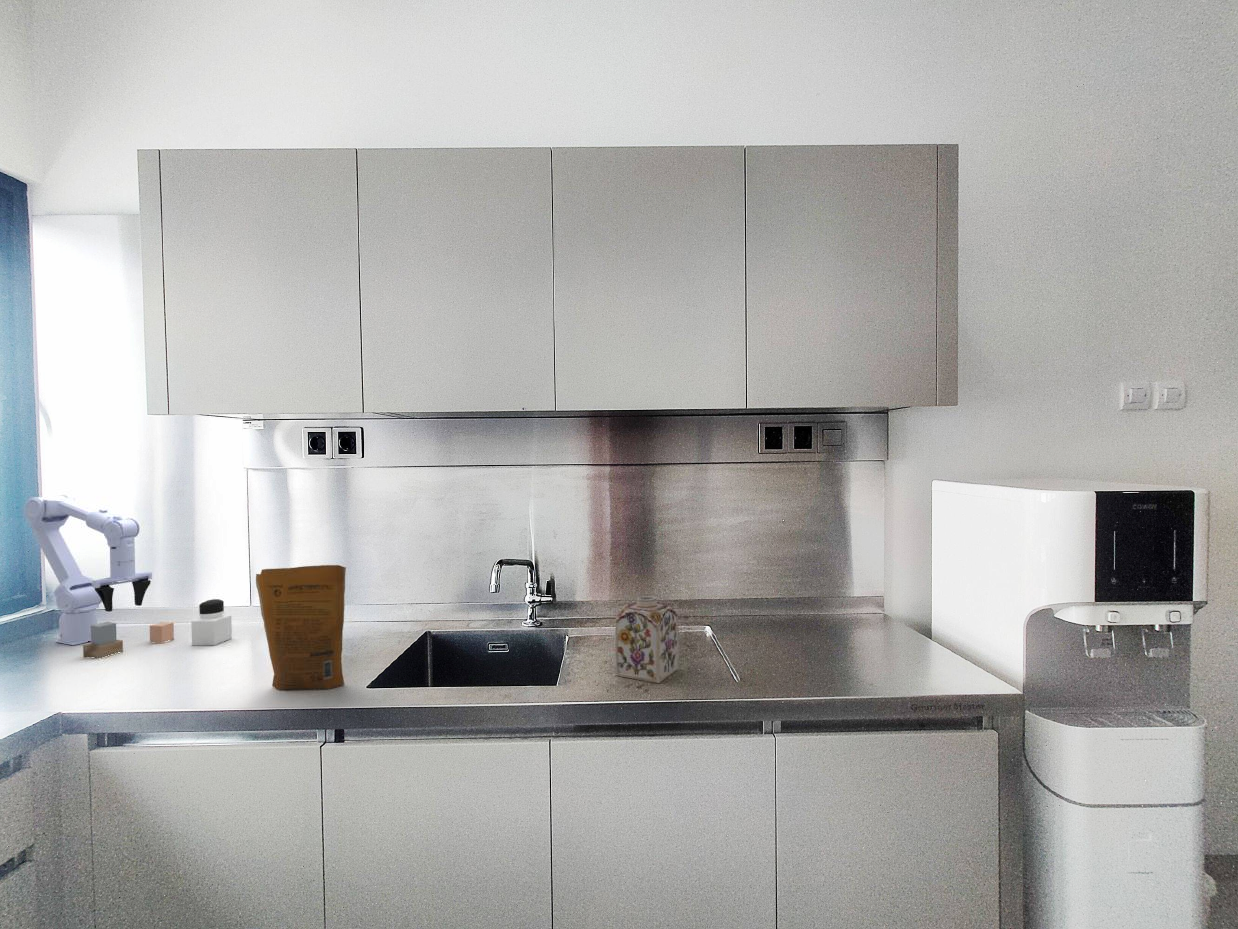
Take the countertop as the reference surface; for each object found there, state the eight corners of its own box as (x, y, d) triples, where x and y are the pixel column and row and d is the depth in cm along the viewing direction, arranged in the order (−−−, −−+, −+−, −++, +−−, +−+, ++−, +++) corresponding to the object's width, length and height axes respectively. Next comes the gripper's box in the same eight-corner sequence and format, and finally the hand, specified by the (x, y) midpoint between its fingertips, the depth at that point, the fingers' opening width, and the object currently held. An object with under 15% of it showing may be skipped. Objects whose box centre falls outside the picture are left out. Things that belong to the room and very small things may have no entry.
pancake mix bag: (342, 692, 143) (339, 566, 143) (256, 694, 143) (253, 568, 142) (354, 681, 150) (351, 561, 149) (271, 683, 149) (269, 563, 149)
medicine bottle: (232, 638, 188) (231, 597, 188) (214, 645, 181) (213, 603, 181) (209, 638, 189) (208, 597, 189) (191, 645, 182) (190, 603, 182)
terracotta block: (149, 643, 185) (149, 625, 185) (162, 639, 189) (161, 622, 189) (162, 643, 184) (161, 626, 184) (173, 639, 188) (173, 622, 188)
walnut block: (83, 658, 172) (83, 645, 172) (106, 651, 178) (106, 639, 178) (100, 659, 171) (99, 646, 171) (122, 653, 176) (122, 640, 176)
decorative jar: (659, 684, 145) (657, 605, 144) (614, 676, 150) (612, 600, 150) (680, 669, 155) (679, 594, 155) (637, 662, 161) (636, 590, 160)
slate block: (91, 643, 173) (90, 625, 173) (108, 639, 177) (107, 621, 177) (99, 645, 172) (99, 626, 172) (116, 641, 175) (116, 623, 175)
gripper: (101, 566, 177) (102, 615, 177) (157, 558, 190) (159, 603, 191) (87, 564, 180) (88, 612, 180) (143, 557, 193) (144, 602, 194)
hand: (123, 608), depth 186 cm, fingers open, 7 cm apart
